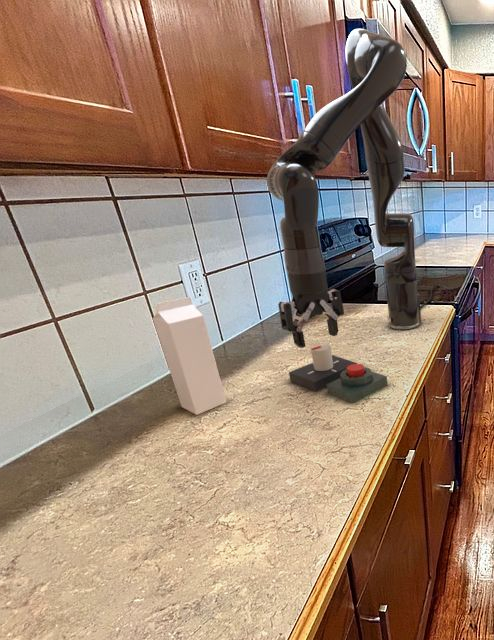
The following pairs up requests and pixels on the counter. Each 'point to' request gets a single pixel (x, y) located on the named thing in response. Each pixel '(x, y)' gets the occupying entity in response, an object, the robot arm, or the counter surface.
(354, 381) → the switch block
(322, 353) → the power knob
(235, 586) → the counter surface
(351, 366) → the button
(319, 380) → the control panel
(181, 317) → the milk
